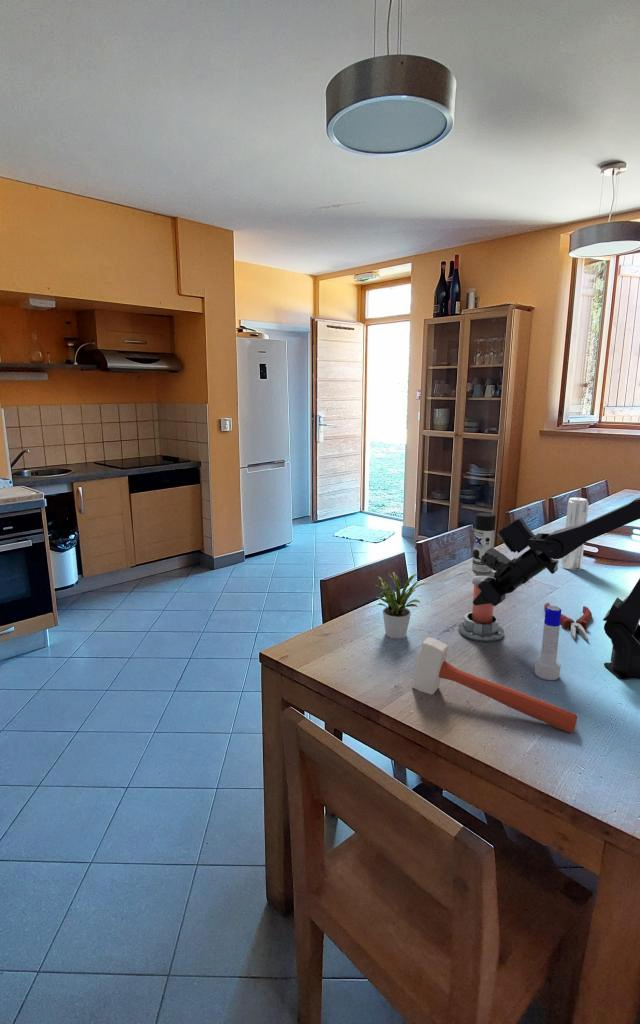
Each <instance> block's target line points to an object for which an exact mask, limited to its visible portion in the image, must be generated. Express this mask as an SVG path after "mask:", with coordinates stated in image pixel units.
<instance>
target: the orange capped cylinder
mask: <svg viewBox="0 0 640 1024" xmlns="http://www.w3.org/2000/svg"><path fill="white" fill-rule="evenodd" d="M488 577H491V578H494V576H493V577H492V576H489V575H475V576H473V577H472V579H471V584H472V585H473V594H472V595H473V597H472V602H473V601H474V599H475V598H476V597H477V596H478V595H479V594H480V592H481V590H480V589H479V587H478V584H480V583H481V582H483V581H484V580H485V579H487V578H488ZM494 579H495V578H494ZM471 611H472V621H474V622H477V623H482V624H486V623H492V618H493V614H494V606H493V605H492V604H491V603H490V604H482V605H474V604H473V603H472V610H471Z"/></svg>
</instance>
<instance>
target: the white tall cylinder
mask: <svg viewBox="0 0 640 1024" xmlns="http://www.w3.org/2000/svg"><path fill="white" fill-rule="evenodd" d="M589 505H590V503H589V501H588V499H587V498H583V497H569V499H568V500H567V509H566V518H565V519H566V520H565V527H564V528H567V527H572V526H577V525H581V524H584V523H586V522H588V521H587V520H588V511H589ZM584 549H585V543H584V544H582V545H581V546H579V547H578V548H577V549H575V550H574V551H572V552H571V553H569V554H568V555H566V556H564V557H563V558H561V567H562V568H563V569H565V570H570V571H580V570H582V566H583V557H584Z"/></svg>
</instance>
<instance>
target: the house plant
mask: <svg viewBox="0 0 640 1024" xmlns="http://www.w3.org/2000/svg"><path fill="white" fill-rule="evenodd" d="M392 574H393V576H392ZM392 574H390V573H388V575H389V576H390V577H391V578H392V580H393V583H394V586H395V590H391V588H390V586H389V584H388V583H387V582H386V580H384V579H383V578H382V577H381V576H379V575H377V578H378V579H379V580H380V584H381V586H379V585H377V584H376V586H377V587H379V588H380V589H381V591H382V592H381V593H379V595H383V596H384V598H383V597H380V596H376V598H377V599H379V600H381V601H382V602H383V603H382V602H380V603H377V604H376V606H383V607H385V608H383V609H382V615H383V623H384V631H385V635H386V636H387V637H389V638H391V639H395V640H397V639H403V638H405V637H406V636H407V633H408V629H409V623H410V618H411V613H412V611H411V610H410V609H408V607H416V608H418V609H419V607H418V605H417V604H415V603H419V604H421V601H420V600H418V599H412V600H410V601H408V600H409V599H410V597H411V595H412V594H413V593H414V592H416V589H417V588H419V587H420V586H424V585H429V583H426V582H425V583H424V582H423V583H420V582H421V581H419V580H418V581H416V582H413V584H412V585H411V586H410V587H409V585H410V584H411V583H412V581H413V579H414V578H415V576H417V575H418V574H419V573H415V574H412V575H410V577H409V578H407V580H406V581H405V583H404V584H403V586H402V587H403V588H402V590H401V583H400V579H399V577H398V575H397V574H396V573H395V572H394V571H392ZM418 583H420V584H418ZM408 587H409V588H408ZM407 601H408V603H407ZM384 603H386V604H387V605H386V604H384Z"/></svg>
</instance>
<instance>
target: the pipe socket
mask: <svg viewBox="0 0 640 1024" xmlns="http://www.w3.org/2000/svg"><path fill="white" fill-rule="evenodd" d="M457 629H458V633H459V634H460V635H461V636H463V637H464V638H466V639H468V640H471V641H476V642H480V643H481V642H482V643H492V642H497V641H501V640H502V639H503V638H504V636H505V635H504V632H505V630H504V628H503V627H501V625H500V618H499V617H498V615H495V614H494V613H493V618H492V623H486V624H482V623H477V622H474V621H472V610H471V611H469V612H465V614H464V615H463V620H462V621H461V622H460V623H459V624H458V628H457Z"/></svg>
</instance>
